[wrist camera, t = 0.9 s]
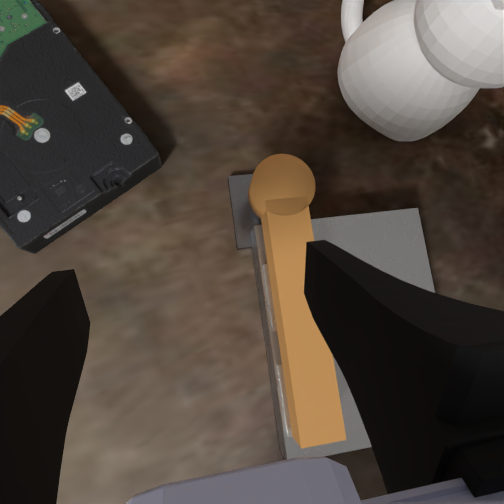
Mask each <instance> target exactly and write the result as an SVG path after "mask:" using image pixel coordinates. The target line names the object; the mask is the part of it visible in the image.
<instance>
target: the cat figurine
mask: <svg viewBox="0 0 504 504" xmlns="http://www.w3.org/2000/svg"><path fill="white" fill-rule="evenodd" d="M363 4H364V0H343V1H342V8H341V25H342V32H343V36H344V40H345V42H346V43H345V45H344V47H343V50H342V52H341V56H340V60H339V65H338V71H337V72H338V83H339V86H340V89H341V93H342V96H343V98H344V100H345V101H346V103H347V105H348V107H349V108H350V109H351V110H352V111H353V112H354V113H355V114H356V116H357V117H359V118H360V119H361V120H362V121H364V122H365V123H366V124H367V125H369V126H370V127H372V128H373V129H375V130H376V131H378V132H379V133H381V134H383V135H385V136H386V137H388V138H390V139H393V140H396V141H416V140H419V139H422V138H425V137H426V136H428V135H430V134H432V133H434V132H435V131H437V130H439V129H440V128H442V127H443V126H445V125H446V124H447V123H448V122H449V121H451V120H452V119H453V118H454V117H456V116H457V115H458V114H459V113H460V112H461V111H462V110H463V109H464V108H465V107H466V106H467V105H468V104H469V103H470V101H471V100H472V99H473V98H474V96H475V95H476V93H477V92H478V90H479V88H501V87H504V0H393V1H391V2H390V3H388V4H386V5H384V6H382V7H381V8H380V9H378V10H377V11H375V12H374V13H373V14H372V15H370V16H369V17H368V18H367V19H366V20H365V21H364V22H363V20H362V15H363Z"/></svg>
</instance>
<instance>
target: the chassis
mask: <svg viewBox="0 0 504 504" xmlns="http://www.w3.org/2000/svg"><path fill="white" fill-rule="evenodd" d="M311 224H312V230H313V236H314V241H318V240H326V241H328V242H330V243H332V244H334V245H336V246H338V247H340V248H341V249H343V250H345V251H347V252H348V253H350V254H352V255H354V256H355V257H357V258H359V259H361V260H363V261H364V262H366V263H368V264H370V265H372V266H374V267H376V268H378V269H379V270H381V271H383V272H386V273H388V274H390V275H392V276H394V277H396V278H398V279H400V280H403V281H405V282H407V283H410V284H412V285H415V286H417V287H420V288H423V289H425V290H428V291H431V292H433V293H435V290H434V285H433V280H432V275H431V270H430V265H429V260H428V255H427V250H426V245H425V241H424V236H423V231H422V226H421V221H420V216H419V211H418V208H411V209H402V210H393V211H383V212H374V213H365V214H356V215H346V216H337V217H328V218H319V219H311ZM251 237H252V245H253V247H252V254H253V261H254V268H255V276H256V283H257V290H258V297H259V305H260V312H261V319H262V326H263V333H264V341H265V348H266V355H267V362H268V369H269V377H270V384H271V391H272V398H273V405H274V413H275V420H276V427H277V434H278V441H279V449H280V451H281V452H282V454H283V456H284V458H285V459H291V458H296V457H318V456H323V457H324V456H329V455H334V454H339V453H344V452H349V451H354V450H359V449H364V448H369V447H372V446H371V443H370V440H369V438H368V435H367V432H366V430H365V427H364V424H363V422H362V419H361V416H360V414H359V411H358V409H357V406H356V404H355V401H354V399H353V396H352V394H351V391H350V389H349V386H348V384H347V382H346V380H345V378H344V376H343V373H342V371H341V369H340V368H339V366H338V364H337V362H336V360H335V358H334V357H333V359H334V366H335V372H336V378H337V384H338V390H339V396H340V403H341V409H342V415H343V421H344V427H345V433H346V440H343V441H338V442H333V443H328V444H323V445H318V446H312V447H307V448H302V449H301V448H300V446H299V445H298V443H297V442H296V441H295V439H294V438H293V437H292V430H291V423H290V416H289V409H288V402H287V395H286V388H285V381H284V374H283V367H282V361H281V354H280V347H279V340H278V333H277V326H276V319H275V312H274V305H273V298H272V291H271V284H270V277H269V270H268V263H267V256H266V249H265V242H264V235H263V228H262V225H254V227H253V229H252V230H251Z"/></svg>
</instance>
